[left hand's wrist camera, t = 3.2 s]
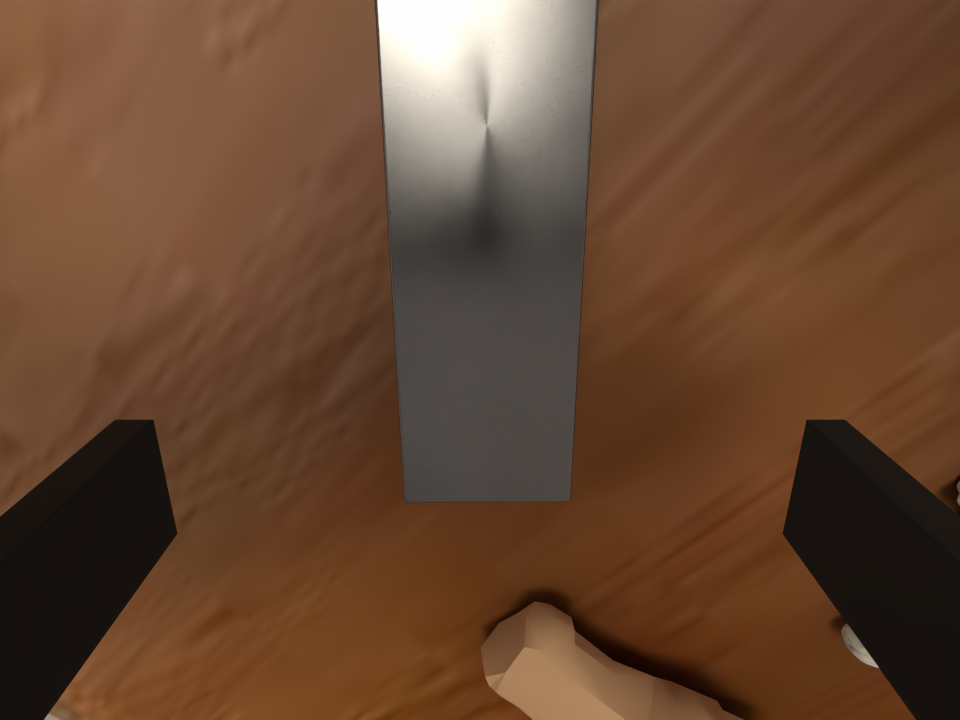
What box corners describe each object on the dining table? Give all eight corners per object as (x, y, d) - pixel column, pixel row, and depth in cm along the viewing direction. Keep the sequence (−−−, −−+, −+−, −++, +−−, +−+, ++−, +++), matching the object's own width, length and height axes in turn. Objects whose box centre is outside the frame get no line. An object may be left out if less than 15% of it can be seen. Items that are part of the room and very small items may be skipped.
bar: (542, 385, 30) (570, 502, 21) (424, 386, 30) (404, 503, 21) (564, -260, 21) (629, -522, 12) (398, -259, 21) (343, -523, 12)
